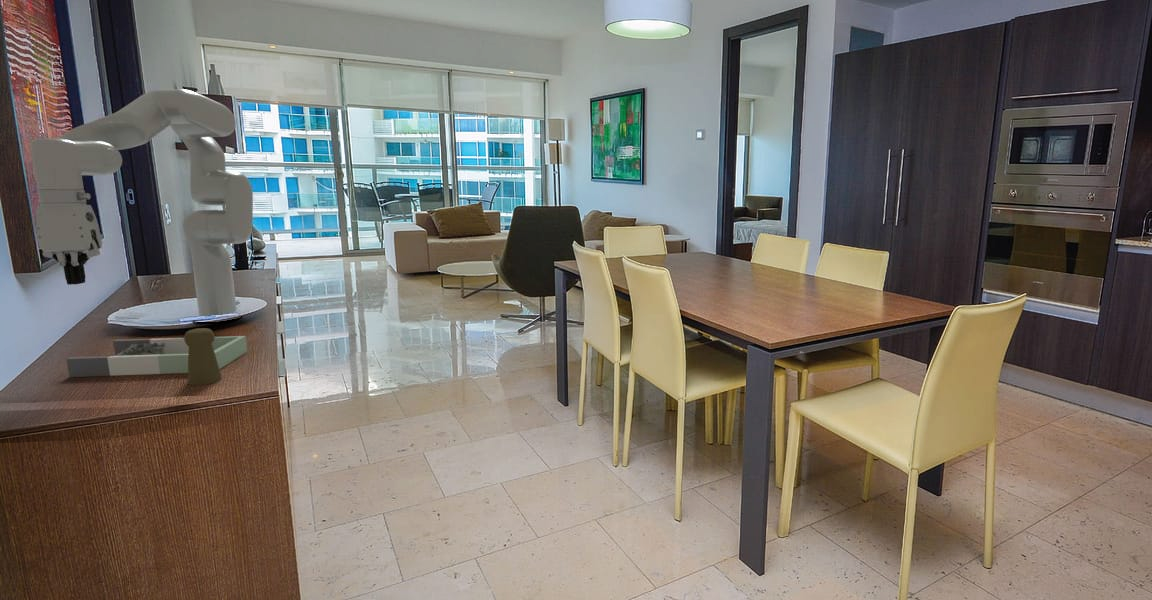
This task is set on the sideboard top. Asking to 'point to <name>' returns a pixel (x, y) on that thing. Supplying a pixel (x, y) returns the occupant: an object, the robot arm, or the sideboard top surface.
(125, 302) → the sideboard top surface
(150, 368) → the frame
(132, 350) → the egg carton
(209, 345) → the cork
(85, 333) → the sideboard top surface
